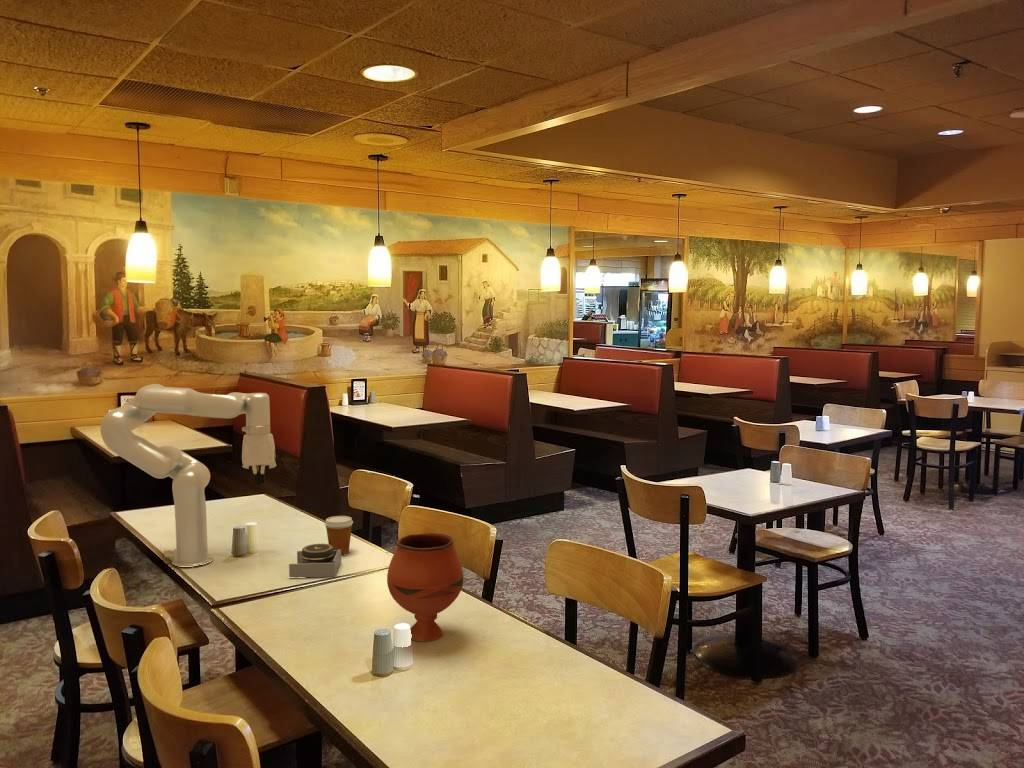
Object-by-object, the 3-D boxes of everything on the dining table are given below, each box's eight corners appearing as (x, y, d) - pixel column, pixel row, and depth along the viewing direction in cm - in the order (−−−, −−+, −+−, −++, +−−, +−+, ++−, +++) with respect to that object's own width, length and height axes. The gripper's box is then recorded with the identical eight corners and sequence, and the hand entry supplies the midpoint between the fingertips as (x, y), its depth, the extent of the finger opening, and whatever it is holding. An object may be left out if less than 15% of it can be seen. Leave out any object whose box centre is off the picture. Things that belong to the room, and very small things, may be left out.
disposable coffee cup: (350, 557, 266) (349, 522, 265) (322, 557, 267) (321, 522, 265) (356, 549, 276) (355, 515, 275) (329, 549, 276) (328, 515, 275)
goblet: (474, 625, 209) (474, 533, 206) (444, 655, 191) (443, 554, 188) (409, 616, 215) (408, 526, 213) (374, 644, 197) (372, 546, 195)
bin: (289, 578, 245) (289, 563, 245) (297, 564, 259) (297, 549, 259) (335, 577, 247) (334, 561, 246) (341, 563, 260) (340, 548, 260)
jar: (324, 577, 247) (324, 553, 246) (296, 574, 249) (295, 551, 249) (339, 567, 256) (339, 544, 256) (312, 564, 259) (311, 542, 258)
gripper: (232, 432, 257) (233, 488, 259) (279, 431, 258) (280, 487, 260) (238, 429, 264) (239, 483, 266) (283, 428, 266) (285, 482, 267)
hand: (260, 485), depth 263 cm, fingers closed
